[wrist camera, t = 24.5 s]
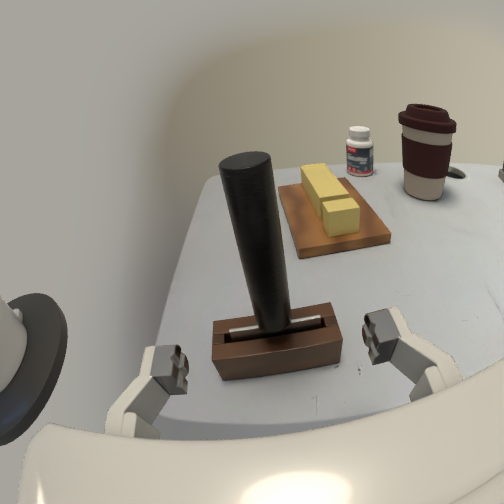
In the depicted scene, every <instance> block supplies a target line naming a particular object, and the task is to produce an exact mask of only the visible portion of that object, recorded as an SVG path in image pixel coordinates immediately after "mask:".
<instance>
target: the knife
mask: <svg viewBox="0 0 504 504" xmlns="http://www.w3.org/2000/svg"><path fill="white" fill-rule="evenodd" d="M219 171H220V175H221V179H222V184H223V188H224V192H225V196H226V200H227V205H228V209H229V213H230V217H231V221H232V225H233V230H234V234H235V238H236V242H237V246H238V250H239V254H240V258H241V262H242V266H243V270H244V274H245V278H246V282H247V286H248V290H249V294H250V298H251V302H252V306H253V310H254V314H255V318H256V322H257V325H256V326H249V327H242V328H235V329H229V332H230V335H231V338H232V340H233V343H234V342H241V341H249V340H256V339H263V338H269V337H276V336H282V335H288V334H294V333H299V332H305V331H310V330H315V329H320V328H321V317H320V315H315V316H310V317H304V318H299V319H293V320H291V308H290V299H289V290H288V282H287V273H286V265H285V257H284V249H283V241H282V234H281V226H280V219H279V211H278V204H277V197H276V190H275V183H274V177H273V170H272V164H271V157H270V155H269V154H268V153H265V152H256V151H255V152H244V153H239V154H236V155H233V156H230V157H228V158H226V159H224V160H222V161H221V162H220V163H219Z"/></svg>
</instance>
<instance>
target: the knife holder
mask: <svg viewBox="0 0 504 504" xmlns="http://www.w3.org/2000/svg"><path fill="white" fill-rule="evenodd" d="M315 315H320V317H321V328H320V329H315V330H310V331H305V332H299V333H294V334H288V335H282V336H276V337H269V338H263V339H256V340H249V341H241V342H234V343H233V340H232V338H231V335H230V332H229V329H235V328H242V327H249V326H256V325H257V322H256V318H255V315H254V316H248V317H241V318H234V319H226V320H219V321H214V322H213V340H212V362H213V363H214V365H215V367H216V369H217V371H218V372H219V374H220V376H221V378H222V380H233V379H242V378H251V377H259V376H266V375H273V374H280V373H286V372H292V371H298V370H304V369H309V368H314V367H319V366H324V365H329V364H334V363H338V362H340V356H341V349H342V342H343V338H342V335H341V332H340V329H339V326H338V323H337V319H336V316H335V314H334V311H333V308H332V305H331V303H330V302H329V303H324V304H318V305H313V306H308V307H302V308H297V309H291V320H293V319H299V318H304V317H310V316H315Z"/></svg>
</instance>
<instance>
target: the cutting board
mask: <svg viewBox="0 0 504 504" xmlns="http://www.w3.org/2000/svg"><path fill="white" fill-rule="evenodd" d="M337 179H338V180H339V182H340V183H341V184H342V185H343V187H344V188H345V189H346V190H347V192H348V193H349V198H353V199H354V200H355V202H356V203H357V204H358V205H359V207H360V220H359V232H356V233H350V234H344V235H338V236H332V237H328V235H327V233H326V231H325V229H324V227H323V221H321V220H320V218H319V217H318V215H317V213H316V211H315V209H314V207H313V205H312V203H311V201H310V199H309V197H308V195H307V193H306V191H305V190H304V188H303V186H302V183H300V184H293V185H287V186H280V187H278V191H279V196H280V199H281V202H282V205H283V208H284V211H285V215H286V218H287V221H288V224H289V227H290V230H291V234H292V237H293V240H294V243H295V246H296V250H297V253H298V256H299V259H302V258H308V257H313V256H319V255H325V254H330V253H336V252H342V251H347V250H353V249H358V248H364V247H369V246H375V245H380V244H385V243H390V239H391V232H390V231H389V230H388V228H387V227H386V226H385V224H384V223H383V222H382V221H381V219H380V218H379V217H378V216H377V214H376V213H375V212H374V211H373V209H372V208H371V207H370V206H369V205H368V203H367V202H366V201H365V200H364V199H363V197H362V196H361V195H360V194H359V193H358V192H357V190H356V189H355V188H354V187H353V186H352V185H351V184H350V182H349V181H348V180H347V179H346V178H345V177H344V178H337Z"/></svg>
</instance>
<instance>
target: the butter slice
mask: <svg viewBox="0 0 504 504" xmlns="http://www.w3.org/2000/svg"><path fill="white" fill-rule="evenodd" d="M322 208H323V227H324V229H325V231H326V233H327V235H328V237H332V236H338V235H344V234H350V233H356V232H359V220H360V207H359V205H358V204H357V203H356V202H355V200H354V199H353V198H347V199H339V200H332V201H326V202H322Z"/></svg>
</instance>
